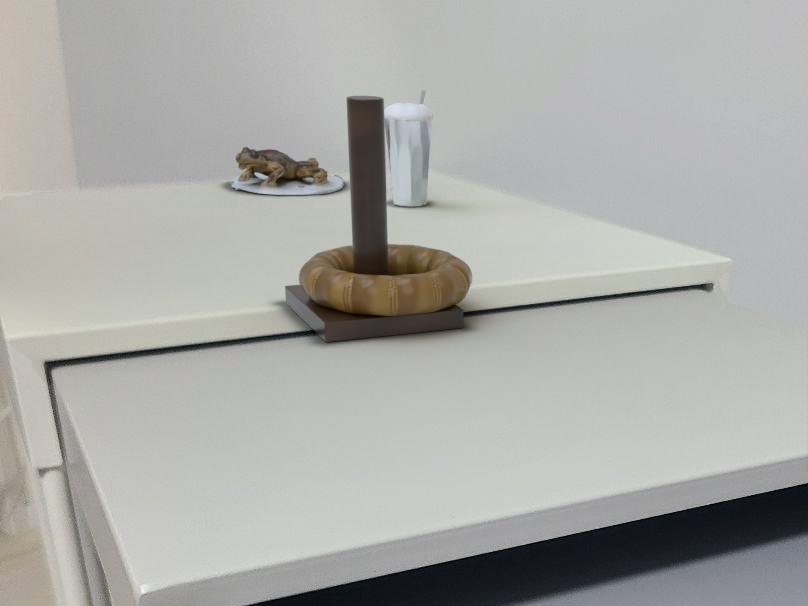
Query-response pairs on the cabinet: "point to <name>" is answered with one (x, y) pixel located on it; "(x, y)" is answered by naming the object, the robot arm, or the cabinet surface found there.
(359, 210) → the post
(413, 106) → the milkshake
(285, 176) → the frog figurine
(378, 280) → the ring
